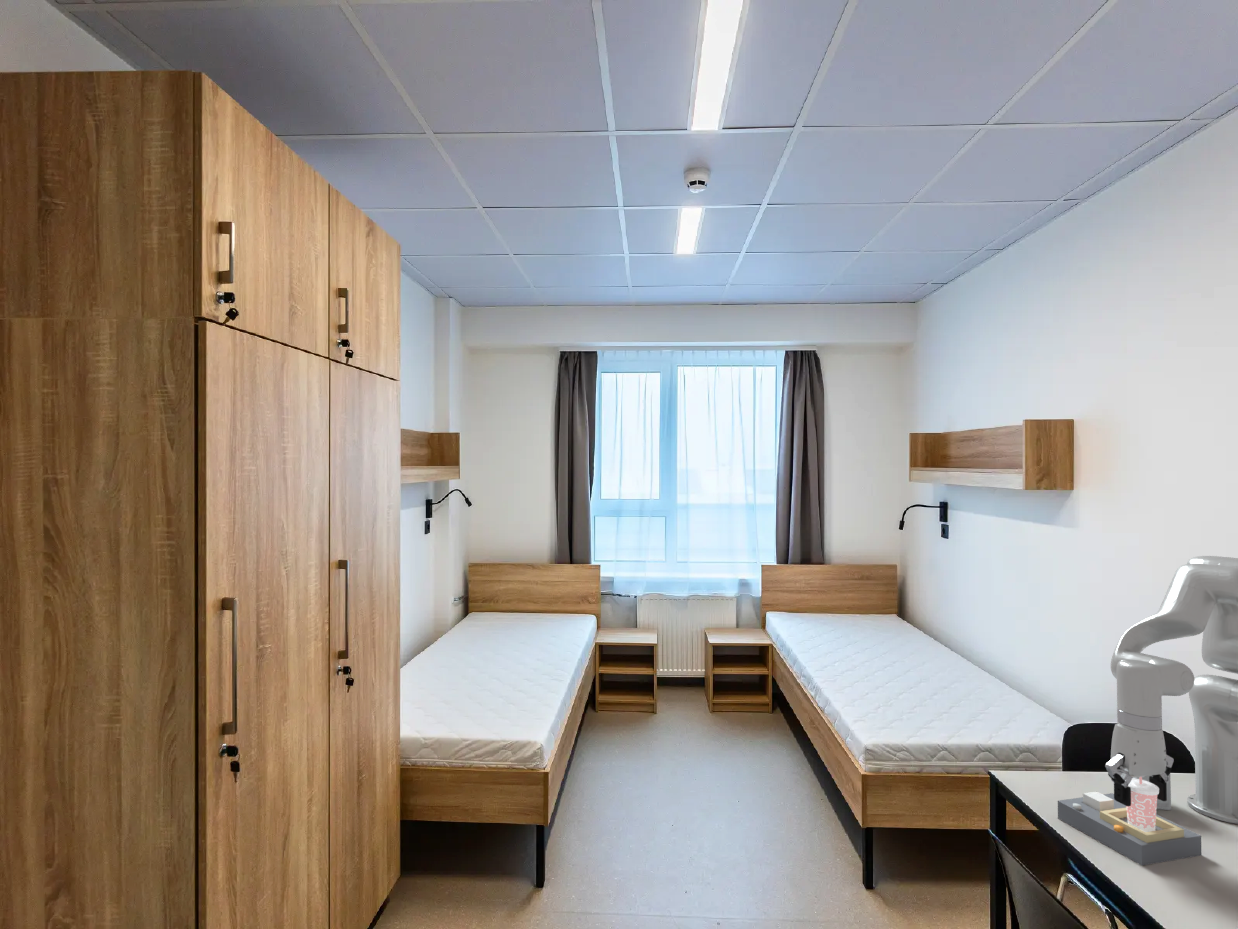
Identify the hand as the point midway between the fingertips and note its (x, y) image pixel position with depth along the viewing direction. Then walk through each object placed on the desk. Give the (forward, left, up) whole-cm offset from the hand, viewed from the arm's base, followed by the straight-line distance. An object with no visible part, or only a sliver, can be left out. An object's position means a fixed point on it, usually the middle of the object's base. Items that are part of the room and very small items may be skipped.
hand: (1140, 800), depth 139 cm
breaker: (0, -10, -8) cm, 12 cm away
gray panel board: (-1, -5, -10) cm, 11 cm away
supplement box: (-21, -15, -10) cm, 28 cm away
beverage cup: (0, 0, -6) cm, 6 cm away
